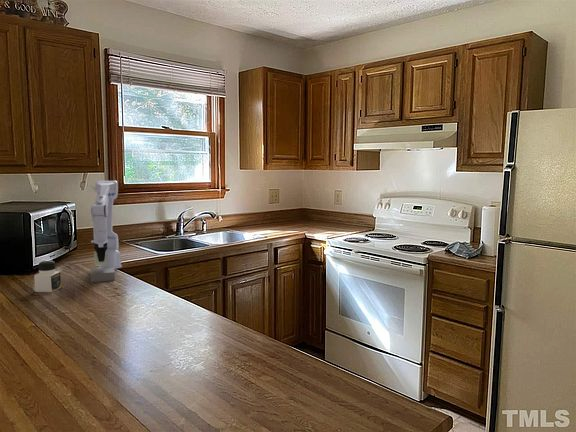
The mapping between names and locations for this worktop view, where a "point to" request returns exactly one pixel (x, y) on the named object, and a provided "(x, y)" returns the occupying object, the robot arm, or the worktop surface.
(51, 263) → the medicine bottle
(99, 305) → the worktop surface
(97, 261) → the sage block
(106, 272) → the charcoal plinth
